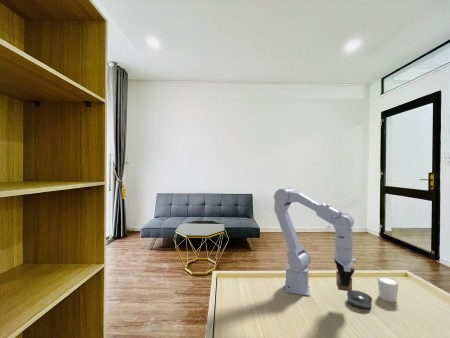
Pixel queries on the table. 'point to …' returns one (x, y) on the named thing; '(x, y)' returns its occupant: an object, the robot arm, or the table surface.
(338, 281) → the walnut block
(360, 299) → the tin
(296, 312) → the table surface
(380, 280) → the grey and white cylinder
